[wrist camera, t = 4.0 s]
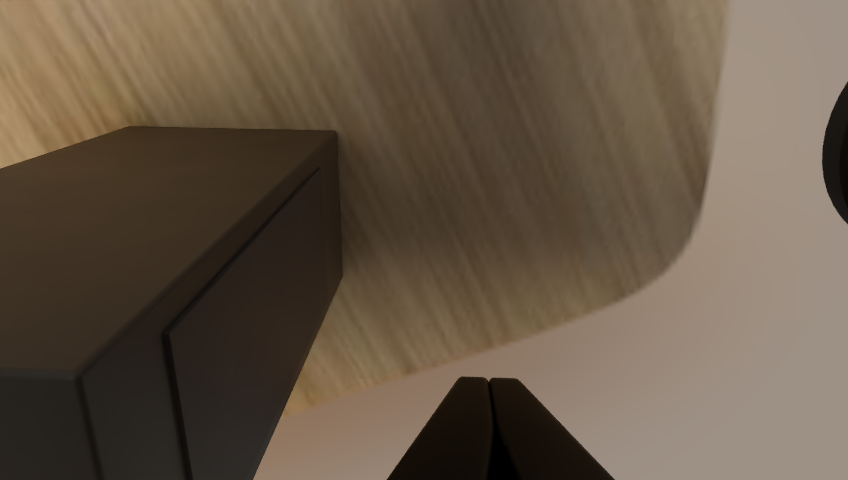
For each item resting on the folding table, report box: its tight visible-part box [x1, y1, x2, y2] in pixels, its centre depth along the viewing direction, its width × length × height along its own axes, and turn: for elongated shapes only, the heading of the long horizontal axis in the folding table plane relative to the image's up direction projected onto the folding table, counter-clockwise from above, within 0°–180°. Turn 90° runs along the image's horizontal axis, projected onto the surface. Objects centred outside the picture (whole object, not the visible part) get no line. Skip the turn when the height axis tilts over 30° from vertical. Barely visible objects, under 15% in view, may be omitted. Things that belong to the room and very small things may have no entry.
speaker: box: [0, 126, 343, 480], centre depth 12 cm, size 6×4×12 cm
